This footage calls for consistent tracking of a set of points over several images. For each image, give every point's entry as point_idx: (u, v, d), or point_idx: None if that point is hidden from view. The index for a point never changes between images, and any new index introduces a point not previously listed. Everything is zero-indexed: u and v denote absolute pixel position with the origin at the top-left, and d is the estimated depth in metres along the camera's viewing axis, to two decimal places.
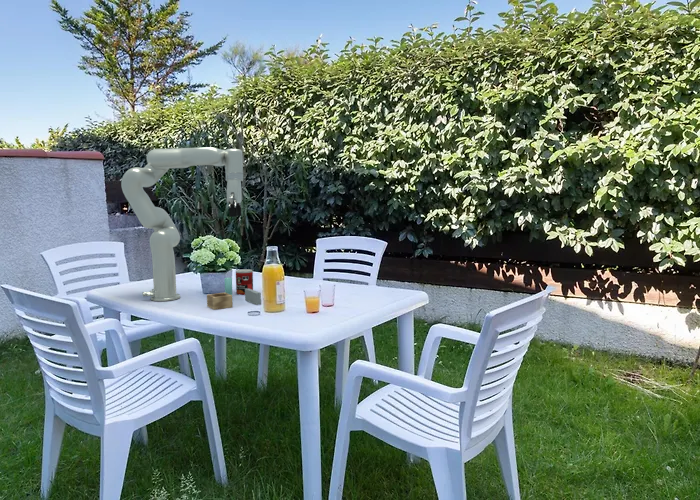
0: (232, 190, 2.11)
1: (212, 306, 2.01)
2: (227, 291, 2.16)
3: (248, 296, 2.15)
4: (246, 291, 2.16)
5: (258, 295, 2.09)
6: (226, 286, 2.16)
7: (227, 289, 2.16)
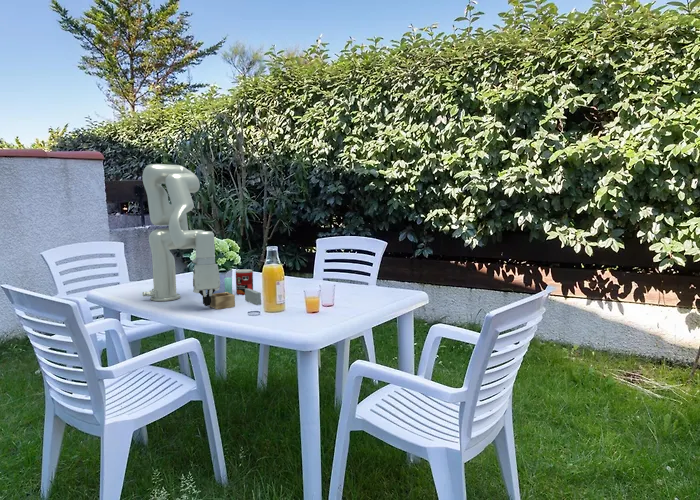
0: None
1: (215, 306, 2.02)
2: (227, 291, 2.16)
3: (248, 296, 2.15)
4: (246, 291, 2.16)
5: (258, 295, 2.09)
6: (226, 286, 2.16)
7: (227, 289, 2.16)
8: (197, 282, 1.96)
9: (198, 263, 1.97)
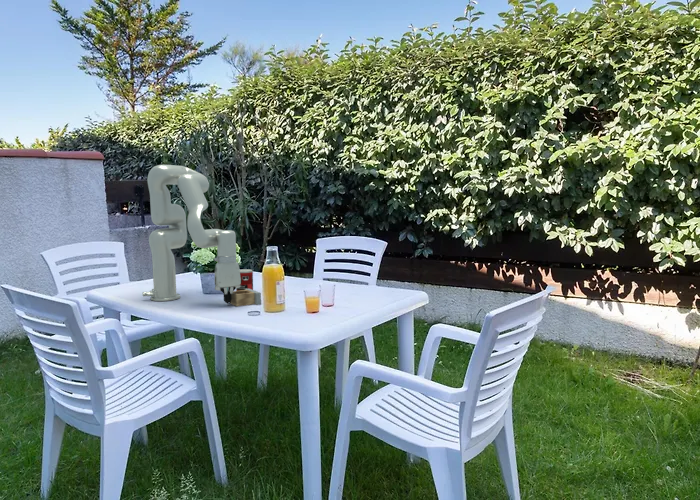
0: None
1: (235, 303, 2.07)
2: (227, 291, 2.16)
3: None
4: None
5: (258, 295, 2.09)
6: None
7: (227, 289, 2.16)
8: (219, 280, 2.01)
9: (220, 261, 2.02)
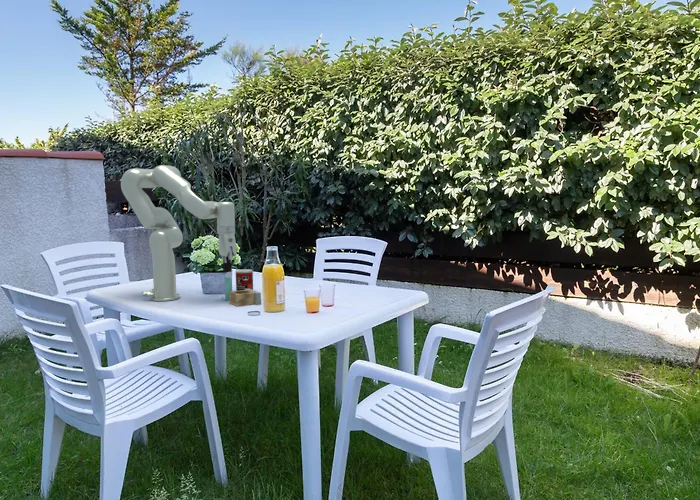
0: None
1: (235, 303, 2.07)
2: (227, 291, 2.16)
3: None
4: None
5: (258, 295, 2.09)
6: (226, 286, 2.16)
7: (227, 289, 2.16)
8: (235, 248, 2.12)
9: (232, 231, 2.12)
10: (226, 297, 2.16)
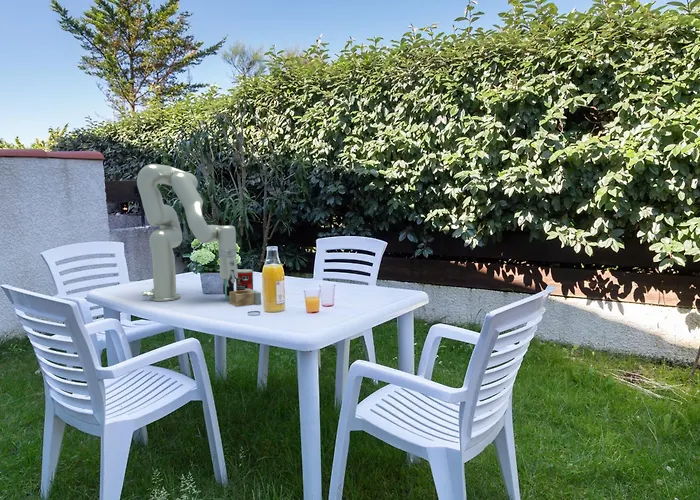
0: None
1: (235, 303, 2.07)
2: None
3: None
4: None
5: (258, 295, 2.09)
6: (226, 286, 2.16)
7: None
8: None
9: (233, 254, 2.14)
10: (226, 297, 2.16)
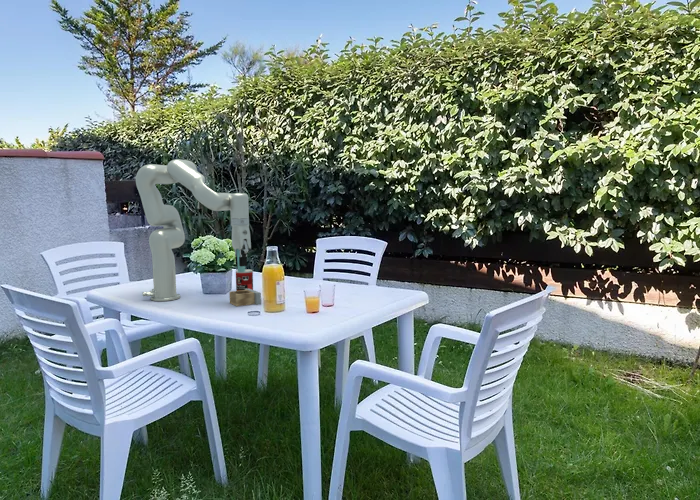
0: None
1: (235, 303, 2.07)
2: None
3: None
4: None
5: (258, 295, 2.09)
6: (239, 256, 2.07)
7: None
8: (250, 241, 2.06)
9: (246, 223, 2.05)
10: (239, 268, 2.08)
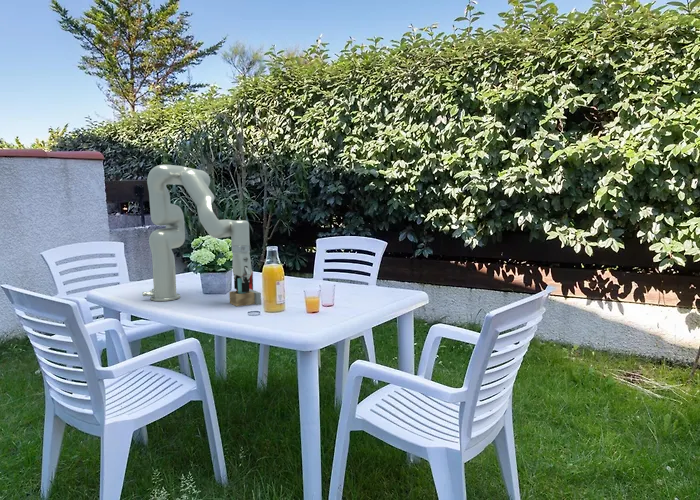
0: None
1: (235, 303, 2.07)
2: (240, 292, 2.09)
3: None
4: None
5: (258, 295, 2.09)
6: (239, 286, 2.09)
7: (240, 290, 2.09)
8: None
9: (247, 250, 2.07)
10: None
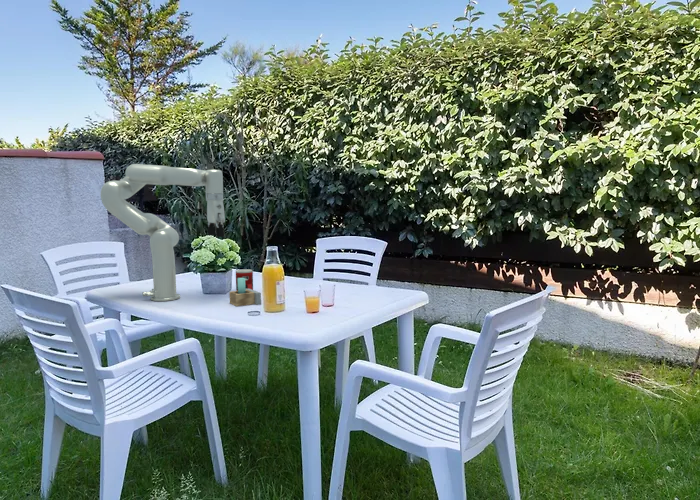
0: None
1: (235, 303, 2.07)
2: (240, 292, 2.09)
3: None
4: None
5: (258, 295, 2.09)
6: (239, 286, 2.09)
7: (240, 290, 2.09)
8: None
9: (220, 198, 2.16)
10: None
